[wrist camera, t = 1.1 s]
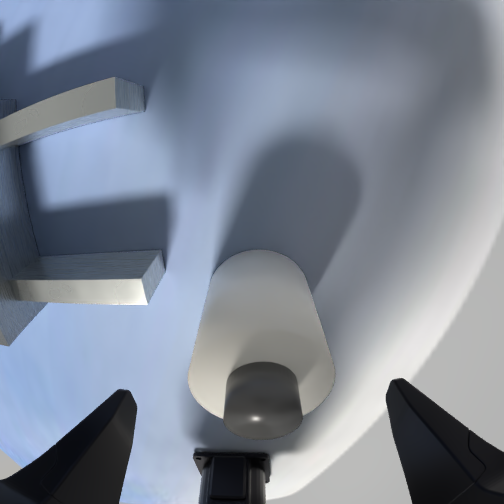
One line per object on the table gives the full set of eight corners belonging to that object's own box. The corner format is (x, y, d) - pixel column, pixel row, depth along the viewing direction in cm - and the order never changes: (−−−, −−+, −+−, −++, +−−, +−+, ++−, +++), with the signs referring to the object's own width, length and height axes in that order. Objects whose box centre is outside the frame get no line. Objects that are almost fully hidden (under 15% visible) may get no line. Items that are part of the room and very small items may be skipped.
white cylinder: (306, 332, 16) (332, 450, 9) (214, 336, 16) (196, 455, 9) (309, 246, 14) (358, 356, 7) (202, 252, 14) (162, 364, 7)
